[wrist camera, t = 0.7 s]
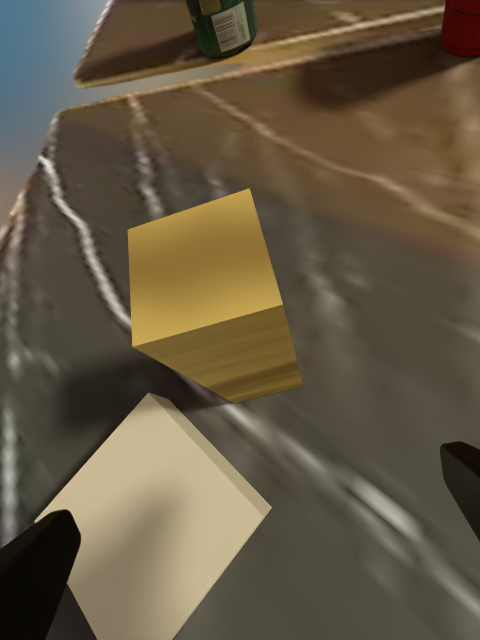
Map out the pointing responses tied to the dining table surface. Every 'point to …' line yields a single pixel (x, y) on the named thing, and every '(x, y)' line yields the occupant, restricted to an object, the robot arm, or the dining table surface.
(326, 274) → the dining table surface
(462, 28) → the plastic cup
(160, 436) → the plinth
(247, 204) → the pillar block
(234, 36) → the coffee jar
